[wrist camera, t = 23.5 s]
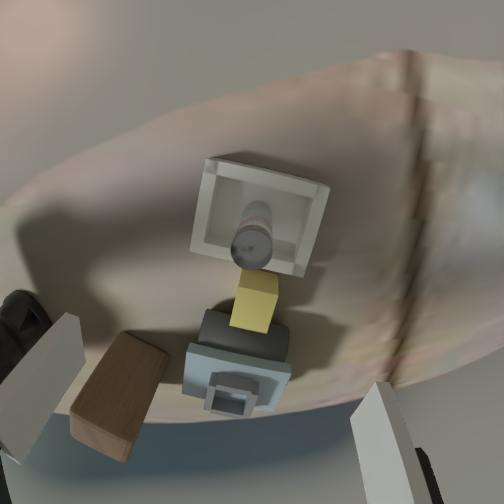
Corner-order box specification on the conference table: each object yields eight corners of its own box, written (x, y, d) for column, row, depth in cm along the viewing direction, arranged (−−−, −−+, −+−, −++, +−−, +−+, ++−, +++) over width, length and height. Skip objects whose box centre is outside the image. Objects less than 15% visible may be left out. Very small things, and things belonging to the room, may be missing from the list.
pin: (241, 224, 38) (226, 265, 26) (247, 197, 37) (235, 226, 25) (268, 230, 38) (266, 274, 26) (275, 204, 37) (277, 236, 25)
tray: (196, 240, 40) (189, 251, 36) (212, 156, 36) (205, 158, 32) (300, 265, 40) (303, 277, 37) (324, 183, 36) (330, 188, 32)
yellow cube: (234, 302, 43) (229, 325, 38) (242, 266, 41) (238, 286, 36) (267, 309, 43) (266, 333, 38) (277, 274, 41) (278, 295, 36)
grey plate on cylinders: (192, 367, 49) (176, 416, 38) (203, 298, 43) (184, 346, 33) (269, 384, 49) (267, 434, 38) (294, 318, 44) (299, 371, 33)
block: (171, 353, 48) (134, 445, 29) (158, 384, 51) (125, 466, 33) (121, 327, 47) (66, 409, 28) (112, 361, 50) (68, 436, 32)
